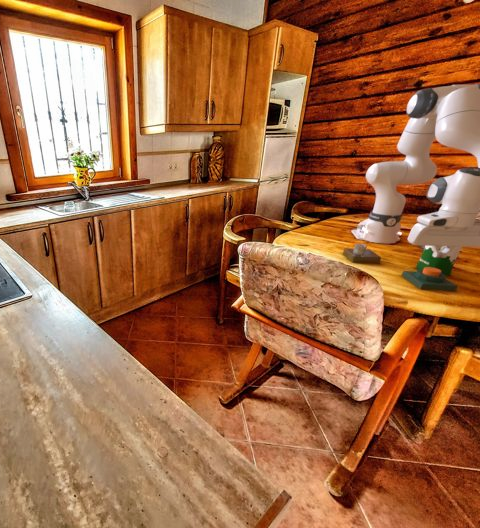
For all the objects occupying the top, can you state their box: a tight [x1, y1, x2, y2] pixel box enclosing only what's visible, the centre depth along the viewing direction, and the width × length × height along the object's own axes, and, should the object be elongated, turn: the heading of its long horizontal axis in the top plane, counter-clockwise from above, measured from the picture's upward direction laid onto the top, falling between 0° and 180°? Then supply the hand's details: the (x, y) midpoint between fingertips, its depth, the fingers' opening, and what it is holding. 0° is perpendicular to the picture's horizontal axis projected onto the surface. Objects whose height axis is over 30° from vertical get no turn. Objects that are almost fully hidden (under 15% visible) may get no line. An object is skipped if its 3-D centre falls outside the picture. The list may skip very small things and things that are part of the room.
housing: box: [401, 269, 458, 292], centre depth 102 cm, size 11×10×4 cm
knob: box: [353, 243, 368, 255], centre depth 122 cm, size 4×4×4 cm
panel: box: [342, 247, 382, 264], centre depth 125 cm, size 11×11×3 cm
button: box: [422, 267, 441, 277], centre depth 101 cm, size 4×4×2 cm
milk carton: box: [415, 246, 463, 277], centre depth 106 cm, size 9×9×20 cm
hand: (438, 257), depth 98 cm, fingers closed
